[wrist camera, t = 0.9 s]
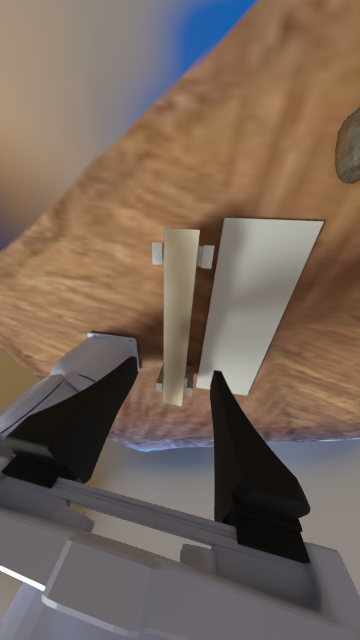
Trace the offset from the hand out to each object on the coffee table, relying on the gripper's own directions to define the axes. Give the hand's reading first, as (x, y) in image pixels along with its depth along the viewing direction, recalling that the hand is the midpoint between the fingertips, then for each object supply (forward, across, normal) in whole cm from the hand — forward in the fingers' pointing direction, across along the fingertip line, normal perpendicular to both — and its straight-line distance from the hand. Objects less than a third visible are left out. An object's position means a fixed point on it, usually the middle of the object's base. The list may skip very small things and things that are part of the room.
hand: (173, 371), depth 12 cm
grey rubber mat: (+10, -8, 0) cm, 13 cm away
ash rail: (+7, +1, 0) cm, 7 cm away
